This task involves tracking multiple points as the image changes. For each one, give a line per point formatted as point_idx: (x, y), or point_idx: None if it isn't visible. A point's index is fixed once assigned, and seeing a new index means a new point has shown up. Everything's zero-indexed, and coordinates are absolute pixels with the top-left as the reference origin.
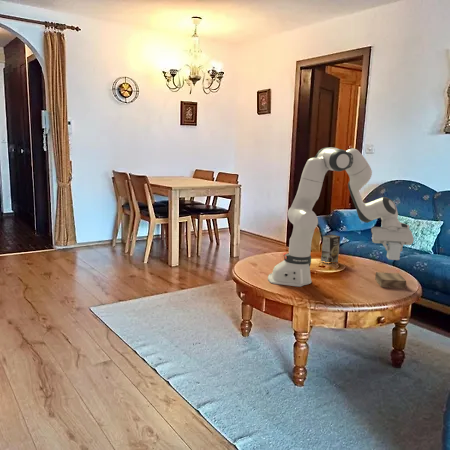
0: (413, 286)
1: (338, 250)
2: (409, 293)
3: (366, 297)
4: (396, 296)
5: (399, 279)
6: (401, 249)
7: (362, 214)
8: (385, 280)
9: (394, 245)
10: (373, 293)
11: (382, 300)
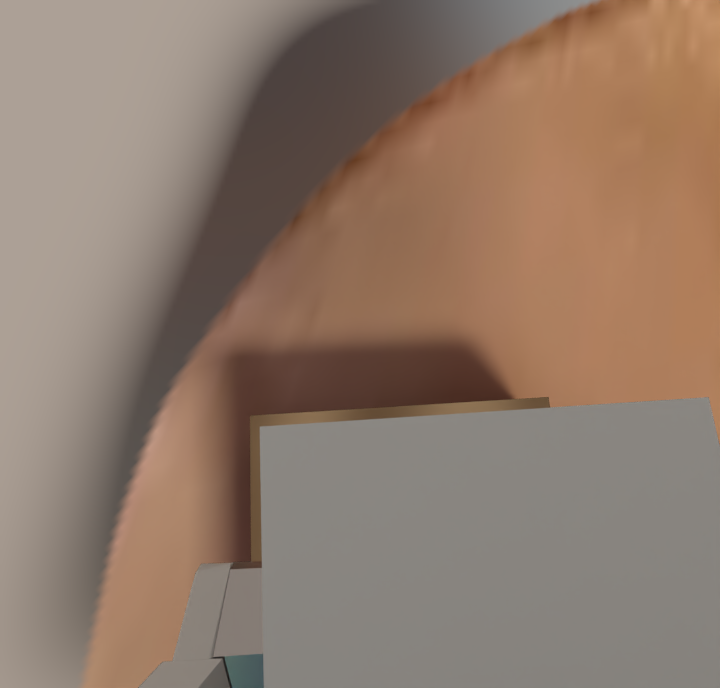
0: (148, 530)
1: None
2: (267, 293)
3: (689, 105)
4: (415, 187)
5: None
6: (231, 568)
7: None
8: (502, 401)
9: (542, 416)
10: (621, 212)
11: (556, 72)
